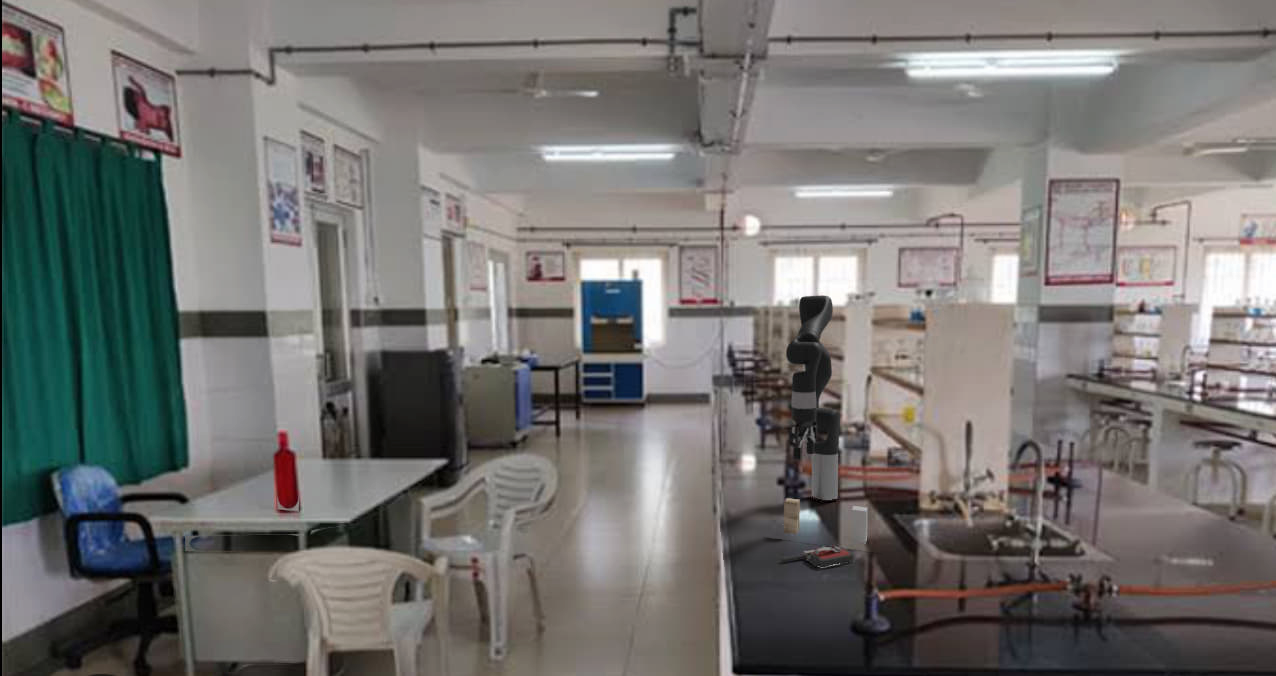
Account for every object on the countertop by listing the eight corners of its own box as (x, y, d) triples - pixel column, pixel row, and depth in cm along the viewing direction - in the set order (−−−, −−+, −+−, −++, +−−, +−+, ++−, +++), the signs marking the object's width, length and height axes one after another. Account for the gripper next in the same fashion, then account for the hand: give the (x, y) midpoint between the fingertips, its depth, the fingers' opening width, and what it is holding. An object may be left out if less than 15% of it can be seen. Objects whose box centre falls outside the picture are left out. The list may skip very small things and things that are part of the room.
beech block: (786, 529, 206) (786, 498, 205) (799, 531, 204) (799, 499, 204) (783, 533, 202) (784, 501, 202) (797, 535, 200) (797, 503, 200)
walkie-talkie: (837, 553, 188) (778, 563, 181) (837, 537, 188) (778, 547, 180) (858, 564, 180) (797, 575, 172) (858, 548, 180) (797, 559, 172)
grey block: (853, 538, 198) (853, 505, 197) (867, 540, 196) (867, 507, 196) (851, 542, 194) (852, 509, 193) (865, 544, 192) (866, 511, 192)
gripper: (803, 401, 212) (803, 450, 214) (781, 407, 202) (781, 459, 203) (825, 403, 207) (825, 454, 209) (804, 410, 197) (804, 463, 198)
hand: (803, 456), depth 206 cm, fingers open, 8 cm apart
